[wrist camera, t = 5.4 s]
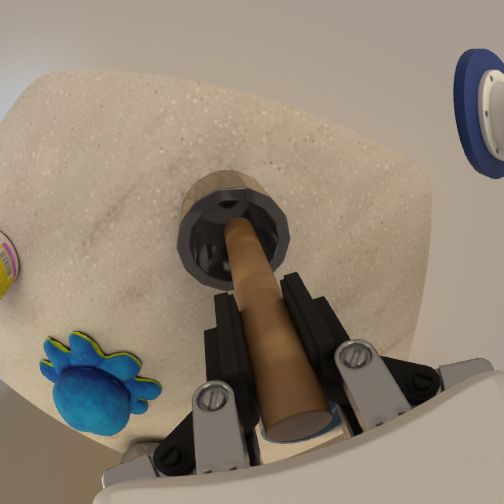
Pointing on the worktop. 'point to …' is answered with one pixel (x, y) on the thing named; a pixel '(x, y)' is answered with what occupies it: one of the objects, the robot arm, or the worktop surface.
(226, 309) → the robot arm
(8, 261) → the supplement bottle
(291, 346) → the stick
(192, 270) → the holder
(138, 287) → the worktop surface
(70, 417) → the plush toy
